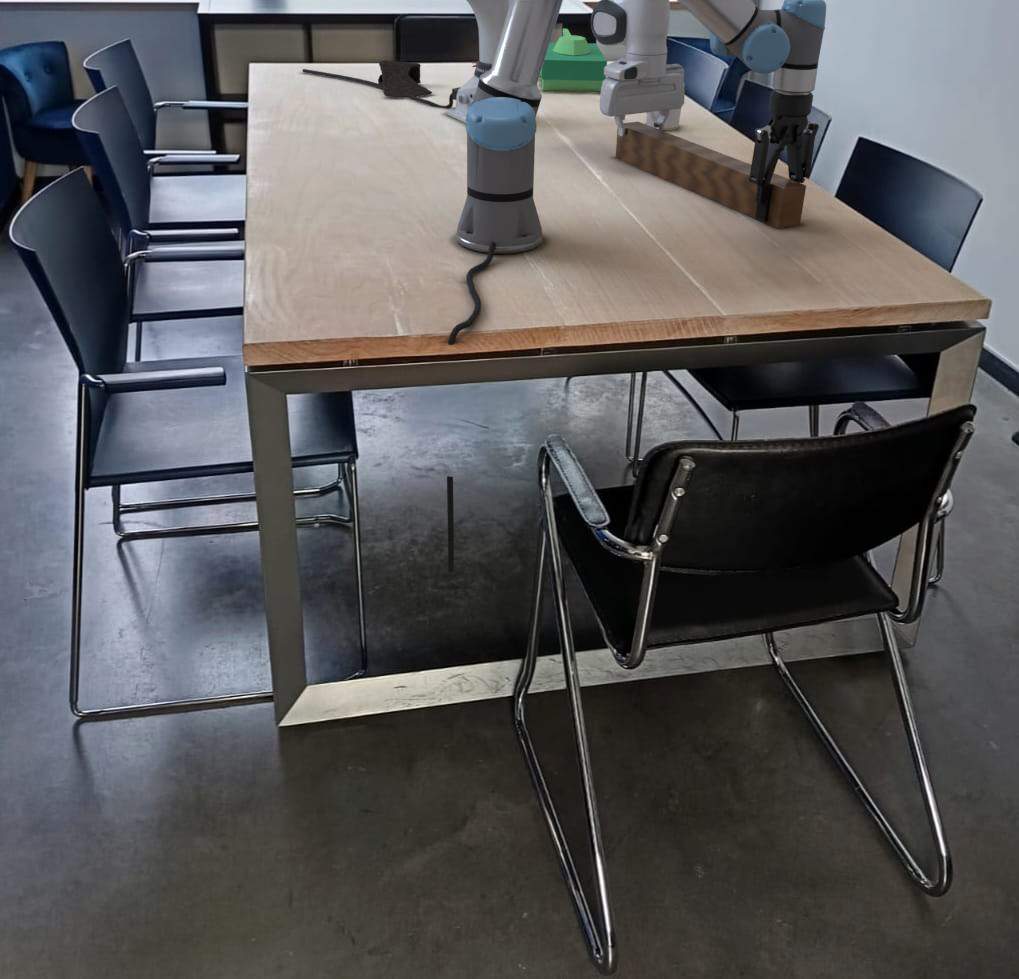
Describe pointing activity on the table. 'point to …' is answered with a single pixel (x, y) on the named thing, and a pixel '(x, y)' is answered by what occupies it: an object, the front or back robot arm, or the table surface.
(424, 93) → the axe head
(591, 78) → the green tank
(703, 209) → the table surface
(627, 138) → the post
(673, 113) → the mug
